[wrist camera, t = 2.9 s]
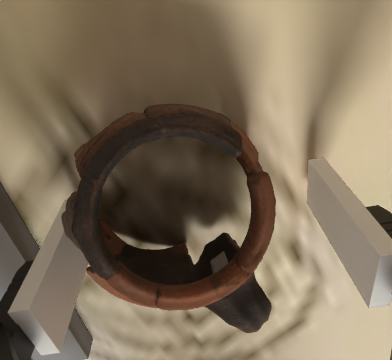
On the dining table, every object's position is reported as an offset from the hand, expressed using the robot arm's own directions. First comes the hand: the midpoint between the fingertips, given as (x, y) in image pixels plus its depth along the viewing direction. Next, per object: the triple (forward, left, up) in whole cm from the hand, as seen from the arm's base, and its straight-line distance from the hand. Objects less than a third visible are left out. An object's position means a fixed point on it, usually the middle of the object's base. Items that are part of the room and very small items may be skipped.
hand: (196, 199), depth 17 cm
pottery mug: (+1, 0, -1) cm, 1 cm away
